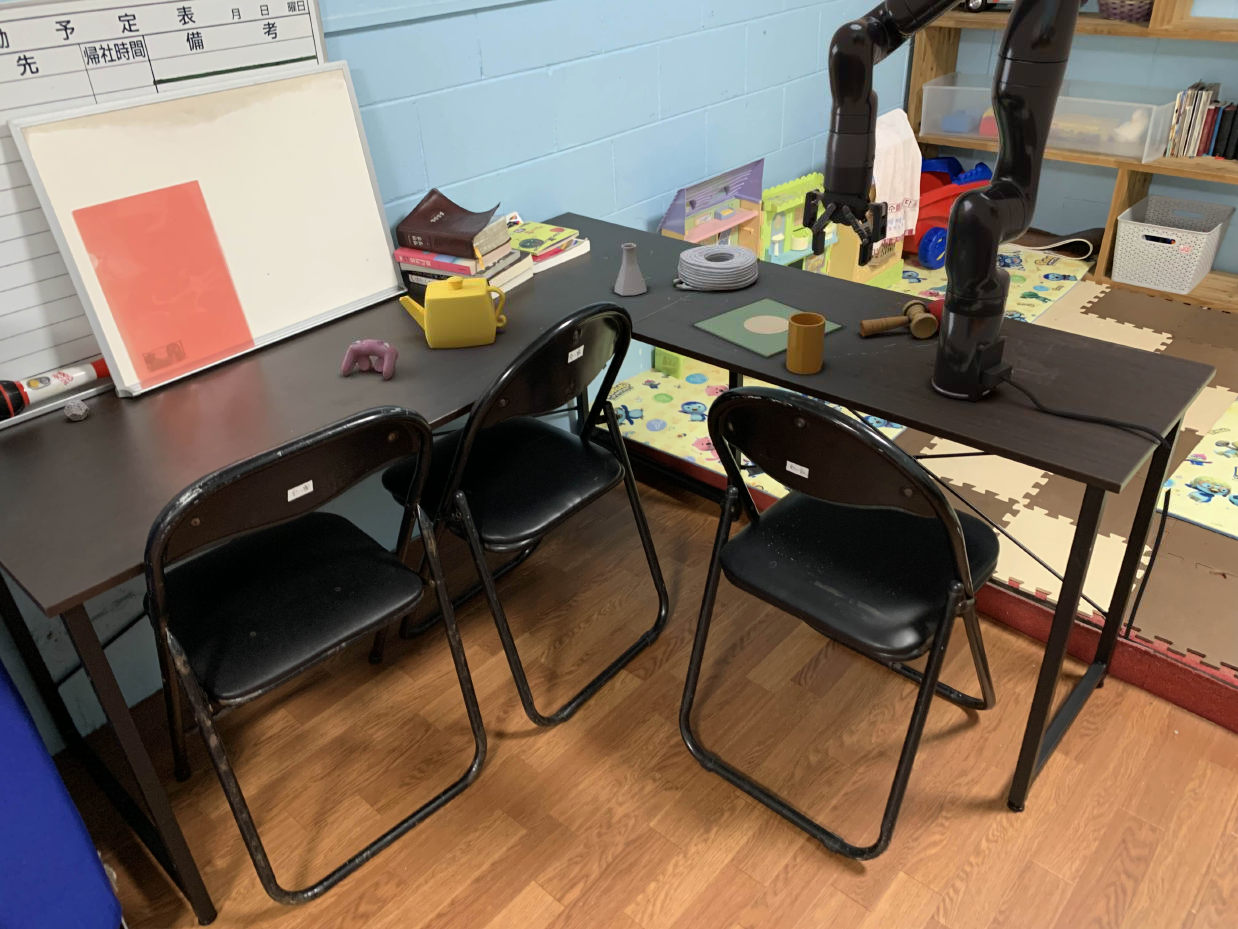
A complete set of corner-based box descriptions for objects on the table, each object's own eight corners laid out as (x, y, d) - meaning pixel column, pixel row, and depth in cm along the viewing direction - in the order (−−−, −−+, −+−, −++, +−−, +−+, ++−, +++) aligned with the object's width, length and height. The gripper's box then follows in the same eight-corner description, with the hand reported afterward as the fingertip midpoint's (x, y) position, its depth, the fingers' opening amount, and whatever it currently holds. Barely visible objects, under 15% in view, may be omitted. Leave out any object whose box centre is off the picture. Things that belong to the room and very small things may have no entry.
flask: (609, 287, 201) (607, 242, 196) (641, 282, 203) (639, 238, 198) (619, 298, 195) (617, 252, 190) (651, 293, 197) (650, 247, 192)
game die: (85, 410, 161) (79, 395, 159) (94, 416, 158) (88, 401, 157) (64, 418, 158) (57, 403, 157) (73, 424, 156) (67, 409, 155)
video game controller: (400, 380, 169) (402, 341, 168) (387, 379, 165) (390, 340, 164) (352, 376, 172) (354, 338, 171) (338, 375, 167) (340, 336, 167)
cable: (669, 290, 198) (668, 263, 195) (687, 263, 212) (687, 238, 209) (750, 296, 193) (751, 268, 190) (763, 268, 207) (764, 242, 204)
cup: (829, 367, 163) (833, 319, 158) (804, 377, 160) (808, 329, 155) (802, 356, 167) (806, 309, 162) (778, 366, 164) (781, 318, 159)
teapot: (404, 353, 176) (393, 294, 170) (409, 327, 186) (399, 271, 180) (509, 344, 177) (502, 285, 171) (508, 319, 188) (502, 263, 182)
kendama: (870, 352, 170) (966, 332, 170) (867, 318, 168) (964, 298, 168) (857, 342, 177) (950, 323, 177) (854, 310, 175) (948, 290, 175)
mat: (841, 327, 177) (841, 325, 177) (767, 357, 167) (767, 355, 167) (766, 300, 191) (766, 297, 191) (694, 326, 181) (694, 323, 181)
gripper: (797, 158, 147) (791, 256, 155) (877, 171, 138) (866, 275, 147) (824, 148, 151) (816, 245, 160) (902, 160, 143) (890, 262, 151)
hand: (840, 259), depth 153 cm, fingers open, 8 cm apart
